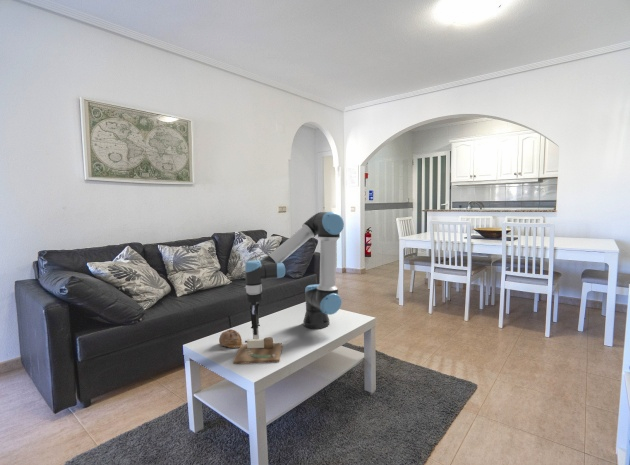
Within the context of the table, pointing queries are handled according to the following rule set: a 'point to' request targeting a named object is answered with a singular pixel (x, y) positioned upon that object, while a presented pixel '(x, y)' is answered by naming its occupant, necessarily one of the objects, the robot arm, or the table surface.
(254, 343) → the lever
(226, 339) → the seashell
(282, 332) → the table surface
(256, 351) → the dial board
